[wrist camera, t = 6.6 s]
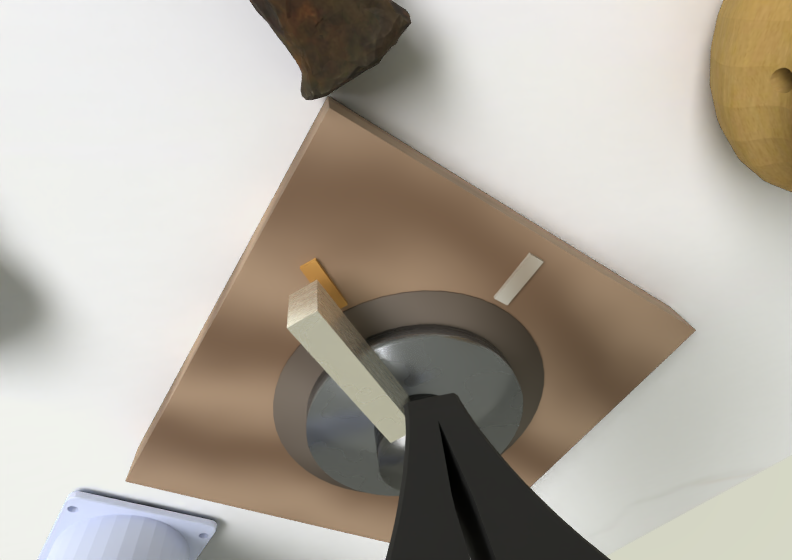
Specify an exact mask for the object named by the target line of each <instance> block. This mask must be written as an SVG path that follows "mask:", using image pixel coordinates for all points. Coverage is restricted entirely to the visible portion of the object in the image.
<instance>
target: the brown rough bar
mask: <svg viewBox="0 0 792 560" xmlns="http://www.w3.org/2000/svg"><path fill="white" fill-rule="evenodd" d="M250 2H251V3H252V5H253V6H254V8H255V9H256V11H257V12H258V13H259V14H260V15H261V16H262V17H263V18H264V19H265V20H266V21H267V22H268V24H269V25H270V27H271V28H272V29H273V31H274V32H275V33H276V35H277V36H278V38H279V39H280V40H281V41H282V43H283V44H284V45H285V46H286V48H287V49H288V51H289V52H290V53H291V55H292V56H293V58H294V59H295V60H296V62H297V64H298V66H299V68H300V70H301V72H302V82H301V94H302V96H303V97H304V98H305V99H306V100H314V99H318V98H321V97H324V96H327V95H328V94H330V93H331V92H333V91H334V90H336V89H337V88H339V87H341V86H342V85H344V84H345V83H347V82H349V81H350V80H352V79H353V78H355V77H357V76H358V75H360V74H361V73H363V72H364V71H366V70H368V69H370V68H372V67H373V66H375V65H377V64H378V63H379V62H380V61H381V59H382V58H383V56H384V55H385V54H386V53H387V52H388V51H389V49H390V48H391V47H392V46H394V45H395V44H396V43H397V41H398V39H399V37H400V36H401V34H402V33H403V32H404V31H405V30H406V28H407V27H408V26H409V25H410V24H411V20H410V15H409V13H408V12H407V11H406V10H405V9H404V8H402V7H400V6H399V5H397V4H396V3H394V2H393V1H391V0H250Z"/></svg>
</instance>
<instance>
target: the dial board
mask: <svg viewBox="0 0 792 560" xmlns="http://www.w3.org/2000/svg"><path fill="white" fill-rule="evenodd" d="M315 280H318V281H319V283H320V284H321V285H322V286H323V288H324V289H325V290H326V291H327V293H328V294H329V295H330V296H331V298H332V299H333V300H334V301H335V303H336V304H337V305H338V306H339V308H340V309H341V310H342V312H343V313H344V314H345V315H346V317H347V318H348V319H349V320H350V322H351V323H352V324H353V325H354V327H355V328H356V329H357V330H358V332H359V333H360V334H361V335H362V337H363V338H364V339H366V338H368V337H370V336H372V335H375V334H377V333H380V332H383V331H386V330H390V329H394V328H398V327H402V326H410V325H420V324H436V325H447V326H452V327H456V328H461V329H464V330H467V331H470V332H473V333H475V334H477V335H479V336H481V337H483V338H485V339H486V340H488V341H489V342H490V343H492V344H493V345H494V346H495V347H496V348H498V349H499V350H500V351H501V352H502V354H503V355H504V356H505V358H506V359H507V361H508V362H509V364H510V366H511V368H512V370H513V372H514V374H515V376H516V378H517V380H518V382H519V384H520V387H521V391H522V395H523V412H522V417H521V421H520V424H519V427H518V429H517V431H516V433H515V435H514V437H513V438H512V440H511V442H510V443H509V445H508V446H507V447H506V448H505V449H504V451H503V452H502V453H501V454H500V455H501V456H502V457H503V458H504V460H505V461H506V462H507V463H508V464H509V465H510V467H511V468H512V469H513V470H514V471H515V472H516V473H517V474H518V475H519V476H520V478H521V479H522V480H523V481H524V482H525V483H526V484H527V485H528V486H529V487H531V486H532V485H533V484H534V483H535V482H536V481H537V480H538V479H539V478H540V477H541V476H542V475H544V474H545V473H546V472H547V471H548V470H549V469H550V468H551V467H552V466H553V465H554V464H555V463H556V462H557V461H558V460H559V459H560V458H562V457H563V456H564V455H565V454H566V453H567V452H568V451H569V450H570V449H571V448H572V447H573V446H574V445H575V444H576V443H577V442H578V441H579V440H581V439H582V438H583V437H584V436H585V435H586V434H587V433H588V432H589V431H590V430H591V429H592V428H593V427H594V426H595V425H596V424H597V423H598V422H600V421H601V420H602V419H603V418H604V417H605V416H606V415H607V414H608V413H609V412H610V411H611V410H612V409H613V408H614V407H615V406H616V405H618V404H619V403H620V402H621V401H622V400H623V399H624V398H625V397H626V396H627V395H628V394H629V393H630V392H631V391H632V390H633V389H634V388H635V387H637V386H638V385H639V384H640V383H641V382H642V381H643V380H644V379H645V378H646V377H647V376H648V375H649V374H650V373H651V372H652V371H653V370H655V369H656V368H657V367H658V366H659V365H660V364H661V363H662V362H663V361H664V360H665V359H666V358H667V357H668V356H669V355H670V354H671V353H672V352H674V351H675V350H676V349H677V348H678V347H679V346H680V345H681V344H682V343H683V342H684V341H685V340H686V339H687V338H688V337H689V336H690V335H692V334H693V333H694V332H695V331H696V330H695V329H694V328H693V327H692V326H691V325H689V324H688V323H687V322H686V321H685V320H684V319H683V318H682V317H681V316H679V315H678V314H677V313H676V312H675V311H674V310H673V309H672V308H671V307H669V306H668V305H666V304H664V303H663V302H661V301H659V300H658V299H656V298H655V297H653V296H651V295H650V294H648V293H646V292H645V291H643V290H642V289H640V288H638V287H637V286H635V285H634V284H632V283H630V282H629V281H627V280H625V279H624V278H622V277H621V276H619V275H617V274H616V273H614V272H612V271H611V270H609V269H608V268H606V267H604V266H603V265H601V264H599V263H598V262H596V261H595V260H593V259H591V258H590V257H588V256H587V255H585V254H583V253H582V252H580V251H578V250H577V249H575V248H574V247H572V246H570V245H569V244H567V243H565V242H564V241H562V240H561V239H559V238H557V237H556V236H554V235H552V234H551V233H549V232H548V231H546V230H544V229H543V228H541V227H540V226H538V225H536V224H535V223H533V222H531V221H530V220H528V219H527V218H525V217H523V216H522V215H520V214H518V213H517V212H515V211H514V210H512V209H510V208H509V207H507V206H505V205H504V204H502V203H501V202H499V201H497V200H496V199H494V198H493V197H491V196H489V195H488V194H486V193H484V192H483V191H481V190H480V189H478V188H476V187H475V186H473V185H471V184H470V183H468V182H467V181H465V180H463V179H462V178H460V177H459V176H457V175H455V174H454V173H452V172H450V171H449V170H447V169H446V168H444V167H442V166H441V165H439V164H437V163H436V162H434V161H433V160H431V159H429V158H428V157H426V156H424V155H423V154H421V153H420V152H418V151H416V150H415V149H413V148H412V147H410V146H408V145H407V144H405V143H403V142H402V141H400V140H399V139H397V138H395V137H394V136H392V135H390V134H389V133H387V132H386V131H384V130H382V129H381V128H379V127H377V126H376V125H374V124H373V123H371V122H369V121H368V120H366V119H365V118H363V117H361V116H360V115H358V114H356V113H355V112H353V111H352V110H350V109H348V108H347V107H345V106H343V105H342V104H340V103H339V102H337V101H335V100H334V99H332V98H330V97H329V96H328V97H327V99H326V101H325V102H324V104H323V106H322V108H321V110H320V112H319V113H318V115H317V117H316V119H315V121H314V123H313V125H312V126H311V128H310V130H309V132H308V134H307V136H306V138H305V139H304V141H303V143H302V145H301V147H300V149H299V151H298V152H297V154H296V156H295V158H294V160H293V162H292V164H291V165H290V167H289V169H288V171H287V173H286V175H285V177H284V178H283V180H282V182H281V184H280V186H279V188H278V190H277V191H276V193H275V195H274V197H273V199H272V201H271V202H270V204H269V206H268V208H267V210H266V212H265V214H264V215H263V217H262V219H261V221H260V223H259V225H258V227H257V228H256V230H255V232H254V234H253V236H252V238H251V240H250V241H249V243H248V245H247V247H246V249H245V251H244V253H243V254H242V256H241V258H240V260H239V262H238V264H237V266H236V267H235V269H234V271H233V273H232V275H231V277H230V278H229V280H228V282H227V284H226V286H225V288H224V290H223V291H222V293H221V295H220V297H219V299H218V301H217V303H216V304H215V306H214V308H213V310H212V312H211V314H210V316H209V317H208V319H207V321H206V323H205V325H204V327H203V329H202V330H201V332H200V334H199V336H198V338H197V340H196V342H195V343H194V345H193V347H192V349H191V351H190V353H189V354H188V356H187V358H186V360H185V362H184V364H183V366H182V367H181V369H180V371H179V373H178V375H177V377H176V379H175V380H174V382H173V384H172V386H171V388H170V390H169V392H168V393H167V395H166V397H165V399H164V401H163V403H162V405H161V406H160V408H159V410H158V412H157V414H156V416H155V418H154V419H153V421H152V423H151V425H150V427H149V429H148V431H147V432H146V434H145V436H144V438H143V440H142V442H141V443H140V445H139V447H138V450H137V452H136V455H135V458H134V460H133V463H132V465H131V468H130V471H129V473H128V476H127V479H126V482H130V483H135V484H139V485H143V486H148V487H152V488H156V489H160V490H165V491H169V492H173V493H178V494H182V495H186V496H191V497H195V498H199V499H203V500H208V501H212V502H216V503H221V504H225V505H229V506H234V507H238V508H242V509H246V510H251V511H255V512H259V513H264V514H268V515H272V516H276V517H281V518H285V519H289V520H294V521H298V522H302V523H307V524H311V525H315V526H319V527H324V528H328V529H332V530H337V531H341V532H345V533H350V534H354V535H358V536H362V537H367V538H371V539H375V540H380V541H384V542H388V543H390V540H391V536H392V531H393V527H394V522H395V517H396V512H397V506H398V500H399V496H384V495H375V494H370V493H365V492H361V491H358V490H355V489H352V488H350V487H347V486H345V485H343V484H341V483H339V482H338V481H336V480H334V479H333V478H331V477H330V476H329V475H328V474H326V473H325V472H324V471H323V470H322V469H321V468H320V467H319V465H318V464H317V463H316V461H315V460H314V458H313V456H312V454H311V452H310V449H309V447H308V442H307V436H306V416H307V405H308V399H309V396H310V393H311V390H312V388H313V386H314V384H315V382H316V381H317V379H318V377H319V376H320V375H321V373H322V372H323V371H324V369H323V368H322V366H321V365H320V364H319V363H318V362H317V361H316V360H315V359H314V358H313V357H312V355H311V354H310V353H309V352H308V351H307V350H306V349H305V348H304V347H303V345H302V344H301V343H300V342H299V341H298V340H297V339H296V338H295V337H294V336H293V334H292V333H291V332H290V331H289V330H288V329H287V320H288V307H289V295H291V294H293V293H295V292H296V291H298V290H300V289H301V288H303V287H305V286H307V285H308V284H310V283H312V282H314V281H315Z"/></svg>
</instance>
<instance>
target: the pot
mask: <svg viewBox="0 0 792 560" xmlns="http://www.w3.org/2000/svg"><path fill="white" fill-rule="evenodd" d="M710 88H711V92H712V97H713V102H714V106H715V111H716V115H717V119H718V122H719V124H720V127H721V129H722V131H723V132H724V134H725V136H726V138H727V139H728V141H729V143H730V145H731V146H732V148H733V150H734V152H735V153H736V155H737V157H738V158H739V159H740V160H741V161H742V162H743V163H744V164H745V165H746V166H747V167H749V168H750V169H751V170H752V171H753V172H754V173H756V174H757V175H758V176H759V177H760V178H761V179H763V180H764V181H765V182H768V183H770V184H772V185H775V186H777V187H780V188H783V189H785V190H788V191H790V192H792V0H724V1H723V3H722V6H721V8H720V11H719V13H718V17H717V21H716V26H715V31H714V36H713V40H712V45H711V57H710Z"/></svg>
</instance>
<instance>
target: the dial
mask: <svg viewBox="0 0 792 560" xmlns="http://www.w3.org/2000/svg"><path fill="white" fill-rule="evenodd" d="M287 329H288V330H289V331H290V332H291V333H292V334H293V336H294V337H295V338H296V339H297V340H298V341H299V342H300V343H301V344H302V345H303V347H304V348H305V349H306V350H307V351H308V352H309V353H310V354H311V355H312V357H313V358H314V359H315V360H316V361H317V362H318V363H319V364H320V365H321V366H322V368H323V369H324V371H323V372H322V373H321V375H320V376H319V377H318V379H317V381H316V382H315V384H314V386H313V388H312V390H311V393H310V396H309V399H308V405H307V416H306V436H307V442H308V447H309V449H310V452H311V454H312V456H313V458H314V460H315V461H316V463H317V464H318V465H319V467H320V468H321V469H322V470H323V471H324V472H325V473H326V474H328V475H329V476H330V477H331V478H333V479H334V480H336V481H338V482H339V483H341V484H343V485H345V486H347V487H350V488H352V489H355V490H358V491H361V492H365V493H370V494H375V495H384V496H399V494H400V488H401V482H402V475H403V465H404V455H405V437H406V425H405V413H404V407H403V406H404V405H405V404H406V403H407V402H409V401H414V400H419V399H424V398H429V397H434V396H439V395H444V394H449V393H455V394H456V395H458V397H459V398H460V400H461V402H462V403H463V405H464V407H465V408H466V410H467V411H468V413H469V414H470V416H471V417H472V419H473V420H474V422H475V423H476V424H477V426H478V427H479V428H480V430H481V431H482V432H483V434H484V435H485V436H486V438H487V439H488V440H489V441H490V443H491V444H492V445H493V446H494V448H495V449H496V450H497V451H498V452H499V454H501V453H502V452H503V451H504V449H505V448H506V447H507V446H508V445H509V443H510V442H511V440H512V438H513V437H514V435H515V433H516V431H517V429H518V427H519V424H520V421H521V417H522V412H523V395H522V391H521V387H520V384H519V382H518V380H517V378H516V376H515V374H514V372H513V370H512V368H511V366H510V364H509V362H508V361H507V359H506V358H505V356H504V355H503V354H502V352H501V351H500V350H499V349H498V348H496V347H495V346H494V345H493V344H492V343H490V342H489V341H488V340H486V339H485V338H483V337H481V336H479V335H477V334H475V333H473V332H470V331H467V330H464V329H461V328H456V327H452V326H447V325H436V324H420V325H410V326H402V327H398V328H394V329H390V330H386V331H383V332H380V333H377V334H375V335H372V336H370V337H368V338H366V339H364V338H363V337H362V335H361V334H360V333H359V332H358V330H357V329H356V328H355V327H354V325H353V324H352V323H351V322H350V320H349V319H348V318H347V317H346V315H345V314H344V313H343V312H342V310H341V309H340V308H339V306H338V305H337V304H336V303H335V301H334V300H333V299H332V298H331V296H330V295H329V294H328V293H327V291H326V290H325V289H324V288H323V286H322V285H321V284H320V283H319V281H318V280H315V281H314V282H312V283H310V284H308V285H307V286H305V287H303V288H301V289H300V290H298V291H296V292H295V293H293V294H291V295H289V307H288V320H287Z"/></svg>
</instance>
